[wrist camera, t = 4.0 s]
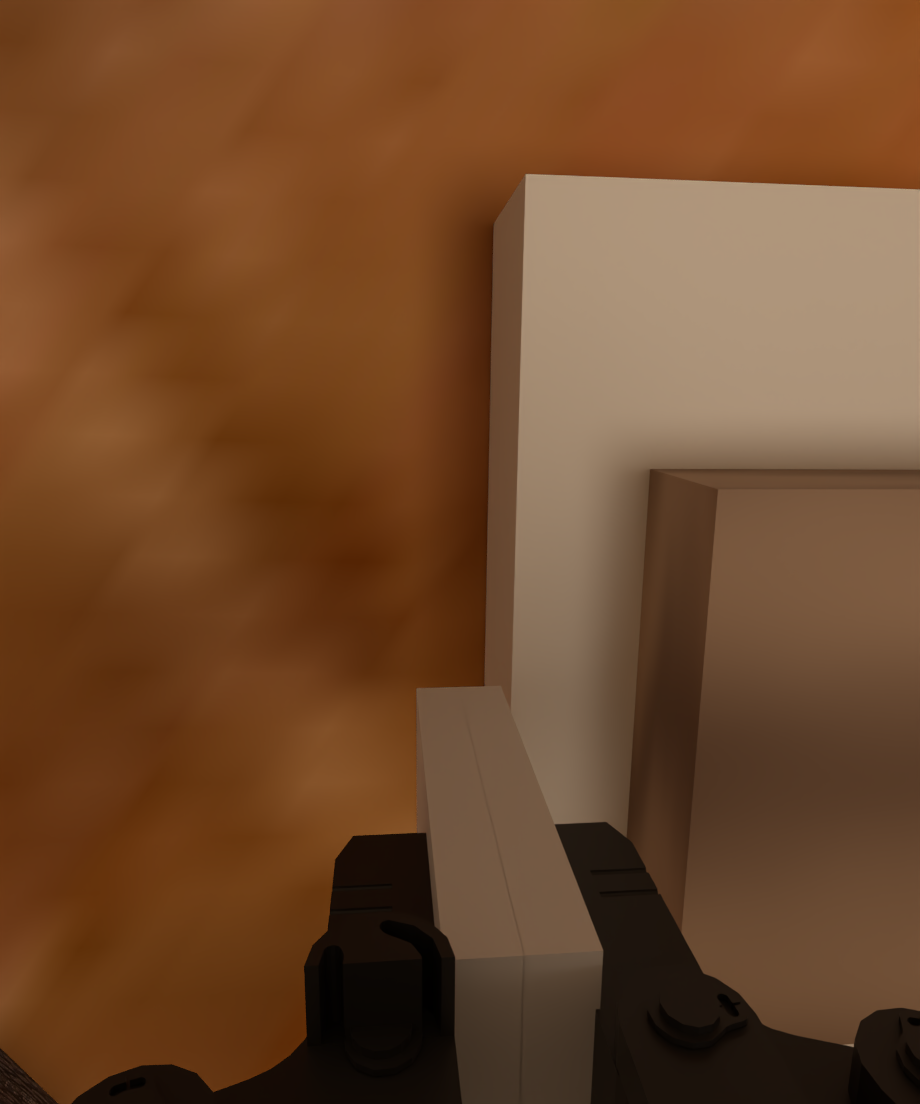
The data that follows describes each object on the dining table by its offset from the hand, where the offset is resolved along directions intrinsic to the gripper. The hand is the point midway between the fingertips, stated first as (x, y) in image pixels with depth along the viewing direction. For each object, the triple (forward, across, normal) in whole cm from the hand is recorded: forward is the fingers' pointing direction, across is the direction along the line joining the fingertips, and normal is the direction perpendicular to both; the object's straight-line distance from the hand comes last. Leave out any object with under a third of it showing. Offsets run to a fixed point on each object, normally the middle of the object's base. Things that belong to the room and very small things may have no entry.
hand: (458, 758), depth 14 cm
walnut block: (+1, -7, 0) cm, 7 cm away
